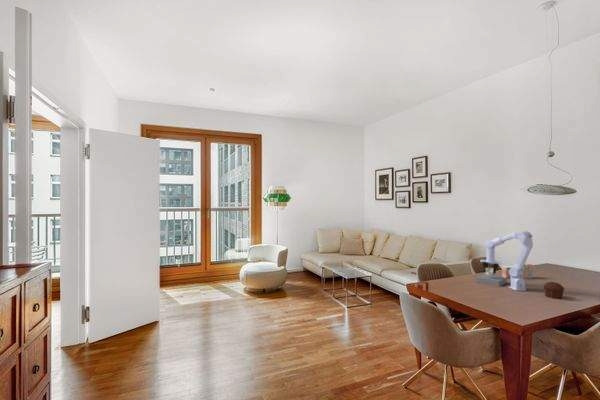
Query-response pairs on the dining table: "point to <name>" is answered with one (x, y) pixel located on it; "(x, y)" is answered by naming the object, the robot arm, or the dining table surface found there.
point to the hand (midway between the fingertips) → (490, 272)
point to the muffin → (553, 290)
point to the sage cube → (490, 271)
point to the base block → (491, 280)
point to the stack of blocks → (526, 275)
